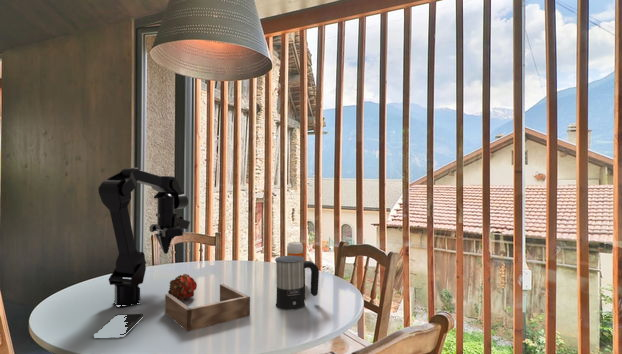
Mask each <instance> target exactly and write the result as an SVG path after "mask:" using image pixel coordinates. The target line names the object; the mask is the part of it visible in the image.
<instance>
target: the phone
mask: <svg viewBox="0 0 622 354" xmlns="http://www.w3.org/2000/svg"><path fill="white" fill-rule="evenodd" d="M117 315H118V314H115V316H117ZM119 315H127V316H125V317H127V318H126V320H125V321H124V322H128V323H126V324H127V325H125V327H128V328H127V330H126V333H127V332H128V331H129V330H130V329H131V328H132V327H133V326H134V325H135V324H136V323H137V322H138V321H139V320H140V319H141V318H142V317H143V318H144V314H143V313H130V314H128V313H127V314H125V313H123V314H120V313H119ZM125 317H124V318H125ZM126 333H124V334H126ZM124 334H120V335H124Z"/></svg>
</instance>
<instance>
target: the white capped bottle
mask: <svg viewBox="0 0 622 354" xmlns="http://www.w3.org/2000/svg"><path fill="white" fill-rule="evenodd" d="M286 256H301V257H304V245H303V243H302V242H298V241H292V242H291V241H290V242H288V243H287V245H286Z"/></svg>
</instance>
